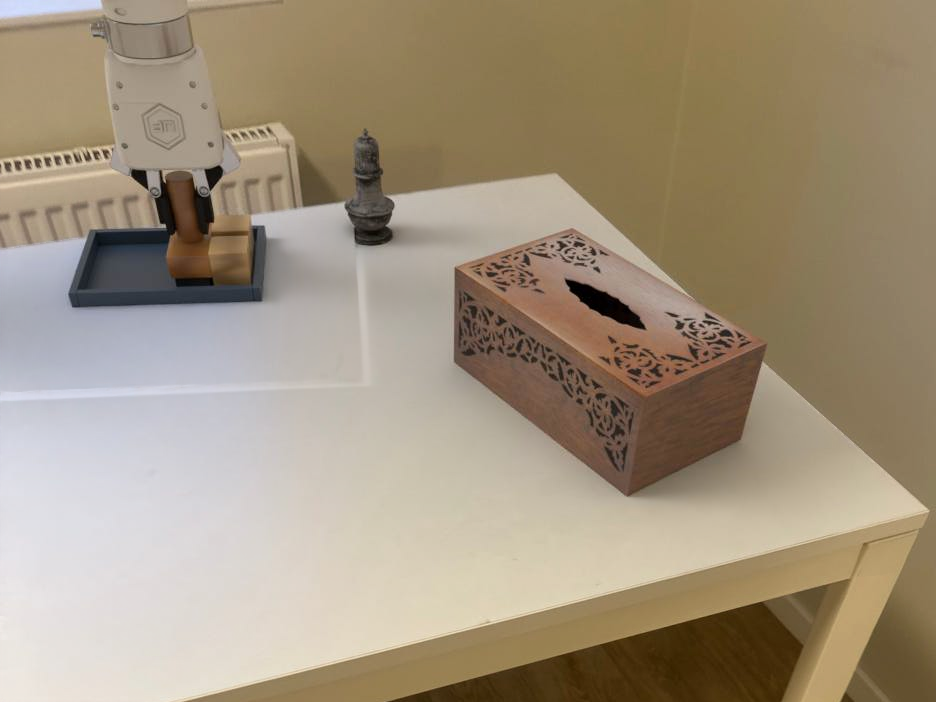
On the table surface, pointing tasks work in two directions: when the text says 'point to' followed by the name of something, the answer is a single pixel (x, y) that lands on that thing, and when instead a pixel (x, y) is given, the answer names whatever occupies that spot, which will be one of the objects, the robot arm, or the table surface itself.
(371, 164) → the salt shaker
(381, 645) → the table surface
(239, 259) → the block
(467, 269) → the tissue box cover
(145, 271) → the tray
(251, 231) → the block
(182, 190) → the brush
